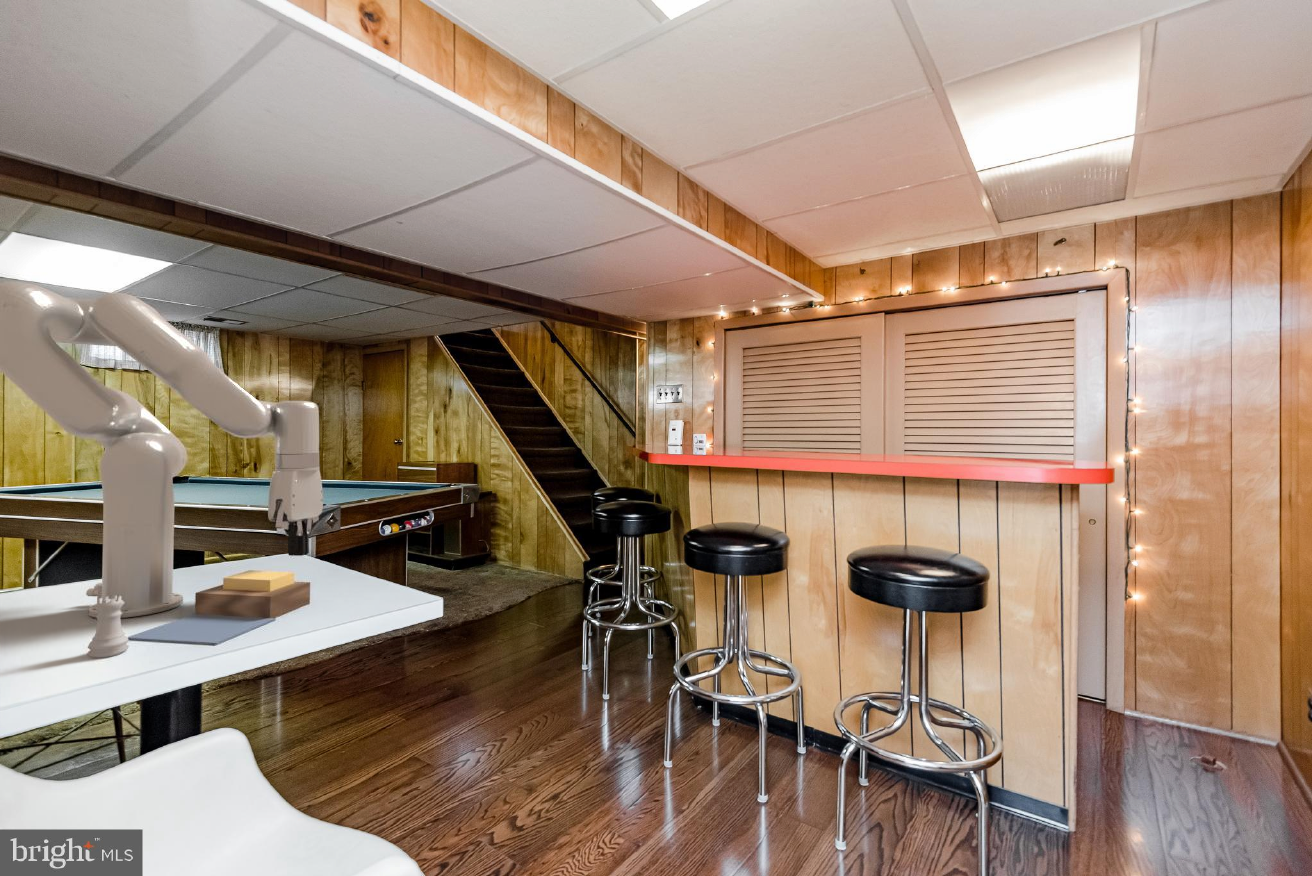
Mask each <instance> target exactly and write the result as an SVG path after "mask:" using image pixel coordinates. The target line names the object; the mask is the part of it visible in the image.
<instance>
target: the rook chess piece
mask: <svg viewBox="0 0 1312 876" xmlns="http://www.w3.org/2000/svg"><path fill="white" fill-rule="evenodd" d="M124 603H125V602H124V601H123V600H121V596H118V598H117V596H112V599H109V597H108V596H107V597H104V600H102V598H99V599H98V600H97V599H96V603H95V604H96V605H95V604H94V605H95V606H94V608H95V609H96V610H97V611H98V615H97V616H96V617H95V619H97V625H96V628H95V629H96V630H95V634H94V636H93V637H92V640H91V641H90V642H88V646H87V649H88V650H89V651H88V652H87V653H86V655H87V656H88V657H89V658H91V659H105V658H111V657H117V656H119V655H121V654H124V653H125V652H126V651H128V649H129V648H130V645H128V643H129V641H130V640H128V637H129V636H126V633H125V632H124V631H123V628H122V621H121V618H120V616H121V615H122V612H121V611H120V608H121V607H122V606H123V604H124Z"/></svg>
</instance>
